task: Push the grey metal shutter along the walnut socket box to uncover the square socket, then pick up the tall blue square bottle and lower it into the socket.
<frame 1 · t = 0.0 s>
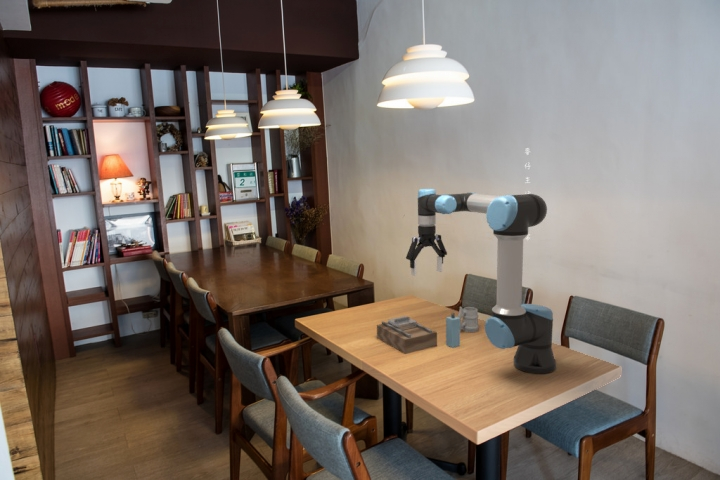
hand: (426, 273, 228), 28 cm above the table, fingers open, 13 cm apart
mug: (466, 331, 237), on the table
shutter: (402, 322, 226), point 8 cm above the table, slide at 0.0 cm
blue square bottle: (452, 345, 219), on the table
socket box: (406, 341, 224), on the table
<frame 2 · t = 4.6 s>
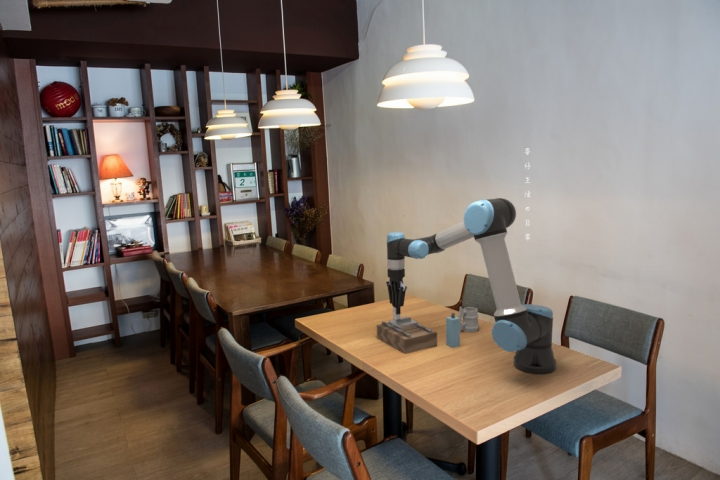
hand: (396, 320, 230), 7 cm above the table, fingers closed
shutter: (403, 322, 225), point 8 cm above the table, slide at 1.0 cm, touching gripper
everything else where it was.
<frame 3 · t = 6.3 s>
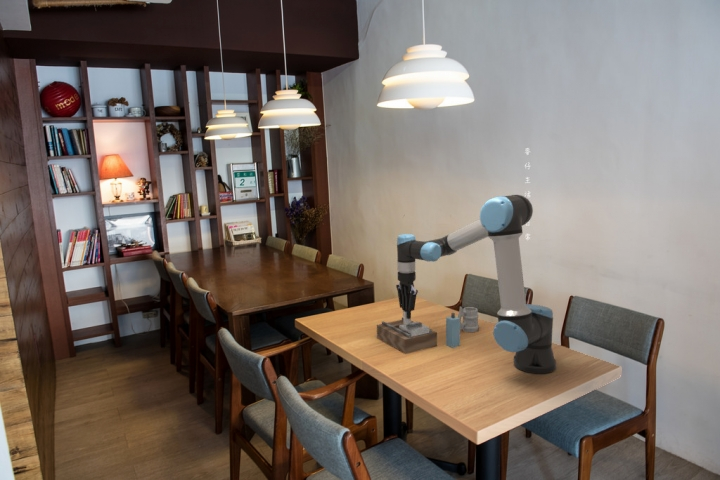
hand: (407, 325, 223), 8 cm above the table, fingers closed
shutter: (414, 327, 218), point 8 cm above the table, slide at 9.0 cm, touching gripper
everything else where it was.
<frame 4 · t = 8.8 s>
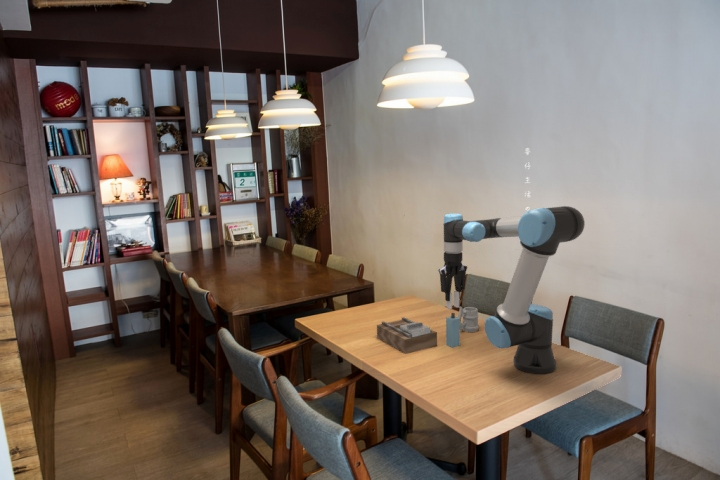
hand: (452, 307, 216), 16 cm above the table, fingers open, 3 cm apart
shutter: (414, 328, 218), point 8 cm above the table, slide at 9.4 cm
everything else where it was.
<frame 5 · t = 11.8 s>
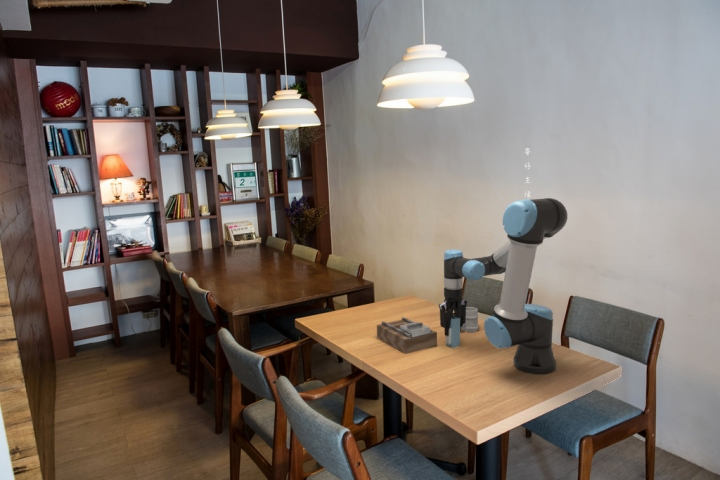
hand: (452, 341, 219), 2 cm above the table, fingers closed on blue square bottle, 4 cm apart
blue square bottle: (452, 345, 219), on the table, touching gripper
everything else where it was.
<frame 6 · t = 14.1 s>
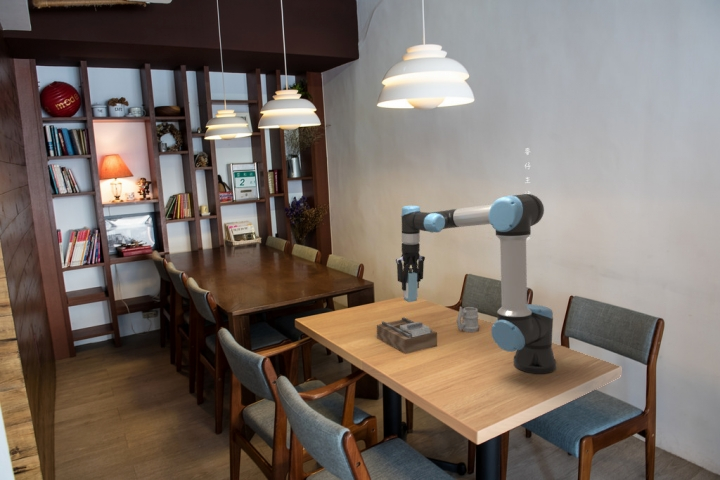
hand: (410, 296, 223), 20 cm above the table, fingers closed on blue square bottle, 4 cm apart
blue square bottle: (410, 300, 223), point 18 cm above the table, touching gripper
everything else where it was.
when the fingers open (7 cm above the table, at t = 16.9 s): blue square bottle drops 5 cm, resting in socket box.
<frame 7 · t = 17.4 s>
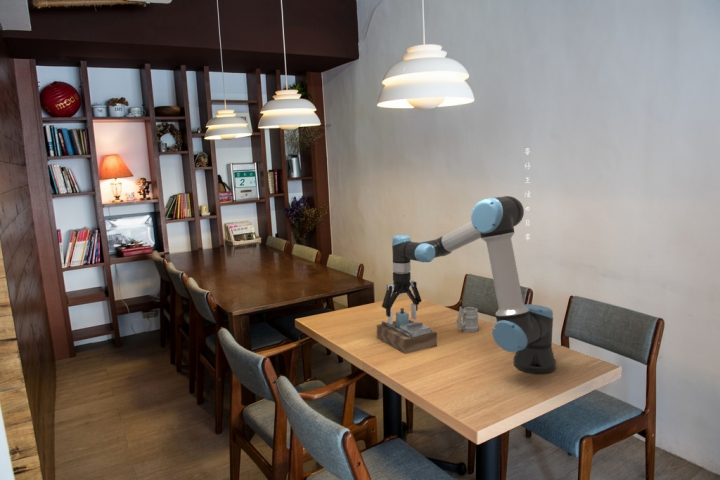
hand: (402, 321, 226), 8 cm above the table, fingers open, 11 cm apart
blue square bottle: (402, 339, 227), resting in socket box
everything else where it was.
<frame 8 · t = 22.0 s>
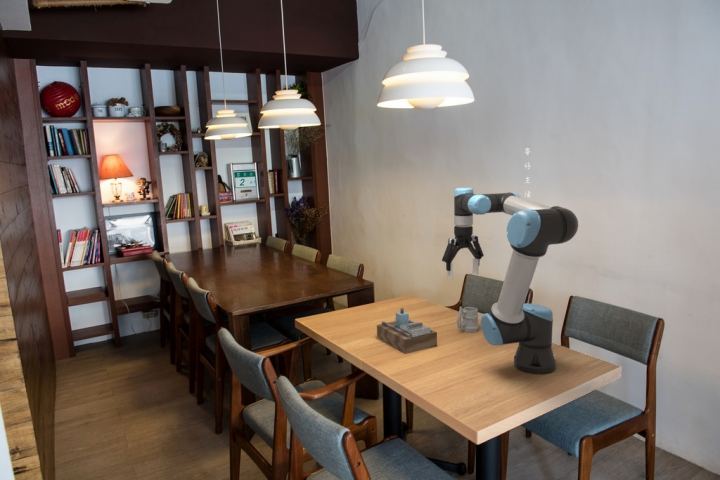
hand: (463, 276, 218), 29 cm above the table, fingers open, 13 cm apart
nothing on the table moved.
at the end: blue square bottle 0.1 cm from the target spot on the socket box, point 0.0 cm above the socket box's base; blue square bottle tilted 0°; shutter slide at 9.4 cm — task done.
